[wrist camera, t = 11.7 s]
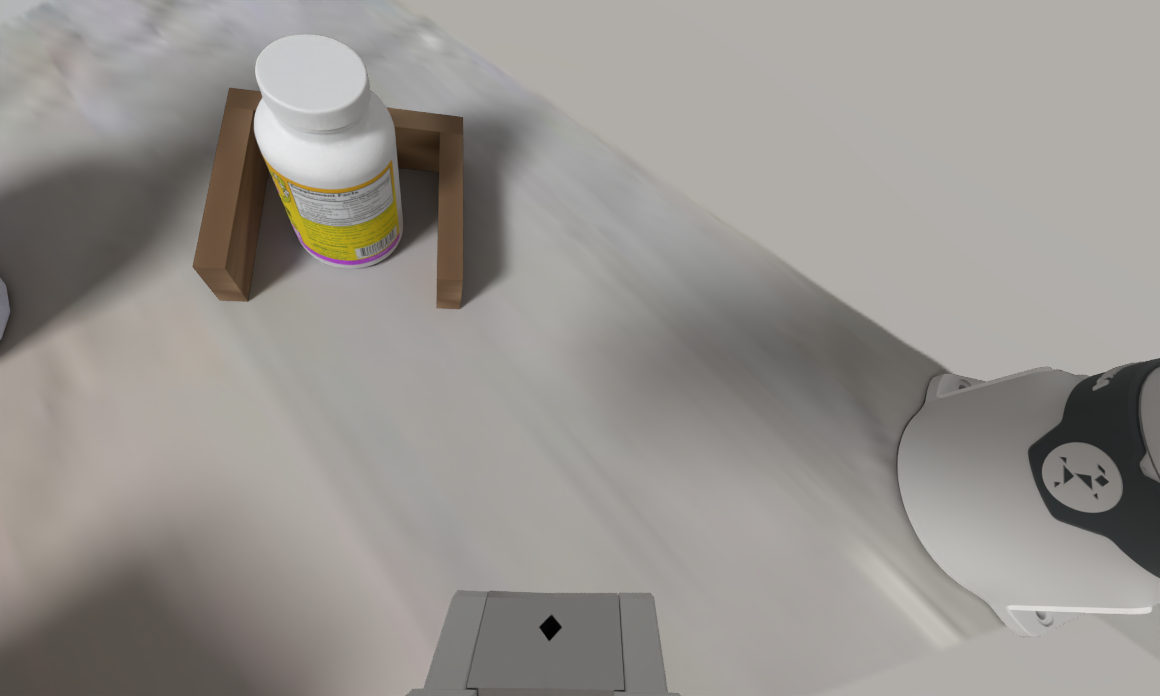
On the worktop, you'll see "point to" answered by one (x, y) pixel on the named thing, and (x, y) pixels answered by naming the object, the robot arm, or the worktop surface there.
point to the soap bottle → (3, 307)
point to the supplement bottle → (329, 150)
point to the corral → (243, 185)
